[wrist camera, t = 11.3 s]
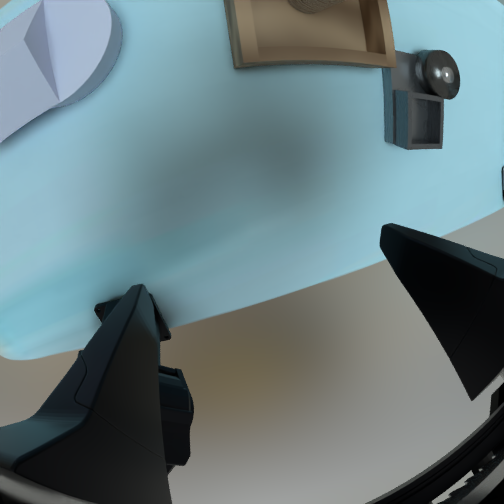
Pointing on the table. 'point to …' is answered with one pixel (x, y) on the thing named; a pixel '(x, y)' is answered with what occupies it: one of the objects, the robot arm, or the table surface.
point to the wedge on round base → (54, 57)
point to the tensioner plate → (418, 98)
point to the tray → (310, 34)
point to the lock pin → (312, 5)
